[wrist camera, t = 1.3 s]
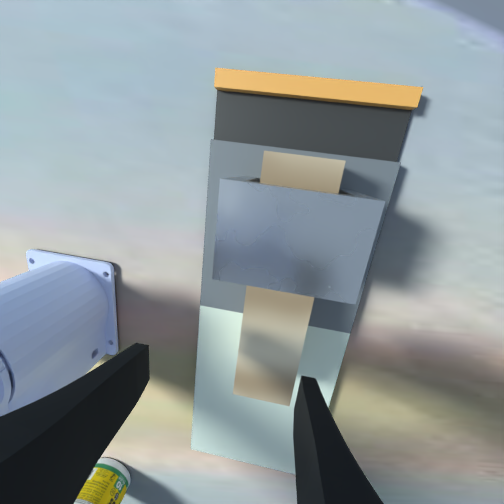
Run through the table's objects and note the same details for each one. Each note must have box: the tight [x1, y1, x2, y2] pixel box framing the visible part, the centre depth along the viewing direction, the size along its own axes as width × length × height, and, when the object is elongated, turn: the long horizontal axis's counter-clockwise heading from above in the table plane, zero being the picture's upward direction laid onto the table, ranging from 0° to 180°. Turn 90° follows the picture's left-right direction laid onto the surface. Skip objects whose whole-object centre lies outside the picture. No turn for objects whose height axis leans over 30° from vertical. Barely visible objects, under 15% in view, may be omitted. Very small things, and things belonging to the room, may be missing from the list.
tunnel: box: [212, 176, 385, 304], centre depth 15 cm, size 5×7×6 cm
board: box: [191, 68, 423, 475], centre depth 21 cm, size 34×12×1 cm, turn 173°
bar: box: [233, 151, 346, 406], centre depth 17 cm, size 16×4×4 cm, turn 173°
